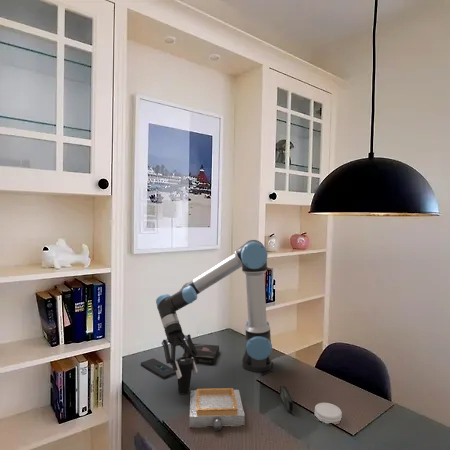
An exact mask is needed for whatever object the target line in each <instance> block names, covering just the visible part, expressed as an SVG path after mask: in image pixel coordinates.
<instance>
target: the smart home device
mask: <svg viewBox="0 0 450 450" xmlns="http://www.w3.org/2000/svg"><path fill="white" fill-rule="evenodd" d="M140 366H141V367H142V368H144V369H146V370H147V371H149V372H151V373H153V374H154V375H156V376H157V377H159V378H161V379H163V380H165V379H168V378H170V377H173V376H175V375H177V374H176V371H174V370H173V367H172V366H169V365H167V364H165V363H163V362H162V361H160V360H157V359H156V358H150V359H148V360H145V361H142V362H140Z"/></svg>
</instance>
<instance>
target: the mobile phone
mask: <svg viewBox="0 0 450 450" xmlns="http://www.w3.org/2000/svg"><path fill="white" fill-rule="evenodd" d="M279 397H280V398H281V401H282V403H283V402H284V403H283V404H284V405H283V406H284V409H287V412H290V413H292V415H293V416H296V413H295V412H294V400H293V397H292V394H291V393H290V391H289V390H288V387H287V386H285V385H280V386H279Z"/></svg>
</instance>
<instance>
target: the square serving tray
mask: <svg viewBox="0 0 450 450" xmlns="http://www.w3.org/2000/svg"><path fill="white" fill-rule="evenodd" d="M189 399H190V401H189V429H190V427H192V428H207V427H206V426H213V427H212V428H213V429H214V431H216V432H219V431H221V430H222V428H223V427H222V426H225V425H227V426H228V425H234V426H233V427H236V426H235V425H244V426H245V419H246V418H245V417H246V415H245V411H244V407H243V403H242V397H241V393H240V390H239V389H234V388H233V387H227V388H226V387H225V388H224V387H222V388H221V387H220V388H218V387H217V388H213V387H212V388H197V389H195V390H190V398H189Z"/></svg>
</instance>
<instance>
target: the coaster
mask: <svg viewBox="0 0 450 450" xmlns="http://www.w3.org/2000/svg"><path fill="white" fill-rule="evenodd" d="M342 415H343V412H342V410H341V409H340V407H339V406H337V405H335V404H332V403H330V402H319V403H317V404H316V405H315V406H314V417H315V416H316V417H317V418H318V419H319V420H320V421H323V422H325V423H333V422H337V421H340V420H341V418H342ZM342 419H343V418H342Z"/></svg>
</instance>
